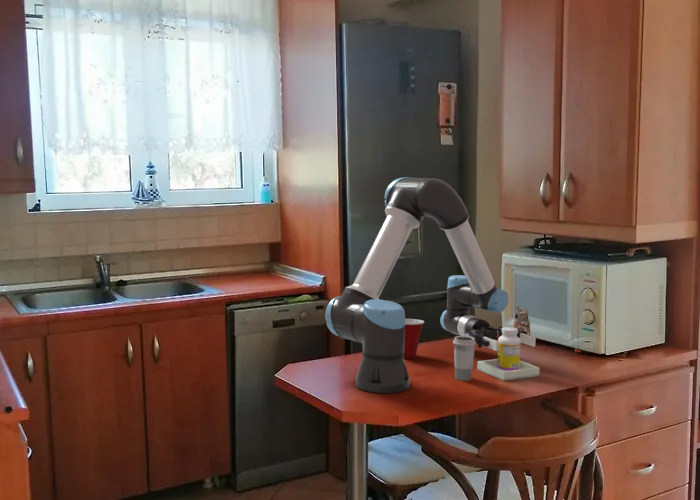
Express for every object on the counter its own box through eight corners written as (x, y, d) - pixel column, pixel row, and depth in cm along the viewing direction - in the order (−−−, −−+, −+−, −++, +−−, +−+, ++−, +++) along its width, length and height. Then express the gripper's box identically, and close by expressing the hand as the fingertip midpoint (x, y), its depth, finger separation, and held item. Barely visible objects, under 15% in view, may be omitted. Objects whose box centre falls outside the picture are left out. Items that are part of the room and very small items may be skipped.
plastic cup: (423, 352, 248) (424, 316, 246) (423, 361, 237) (424, 323, 235) (390, 351, 249) (391, 315, 247) (388, 359, 238) (389, 322, 236)
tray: (503, 380, 217) (503, 372, 217) (477, 369, 229) (477, 361, 229) (539, 376, 223) (539, 367, 222) (511, 364, 234) (512, 357, 234)
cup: (472, 383, 215) (474, 342, 213) (449, 380, 217) (451, 339, 215) (476, 376, 221) (478, 336, 220) (453, 374, 223) (455, 334, 222)
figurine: (517, 344, 261) (518, 310, 260) (506, 339, 268) (507, 306, 267) (534, 342, 264) (536, 309, 262) (523, 337, 270) (524, 305, 269)
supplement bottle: (498, 366, 230) (500, 325, 228) (520, 368, 228) (522, 327, 226) (495, 372, 224) (497, 329, 222) (517, 374, 222) (519, 332, 220)
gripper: (505, 337, 247) (548, 352, 228) (440, 343, 236) (480, 360, 217) (506, 314, 246) (549, 328, 227) (441, 320, 235) (481, 335, 216)
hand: (516, 344), depth 222 cm, fingers open, 13 cm apart
